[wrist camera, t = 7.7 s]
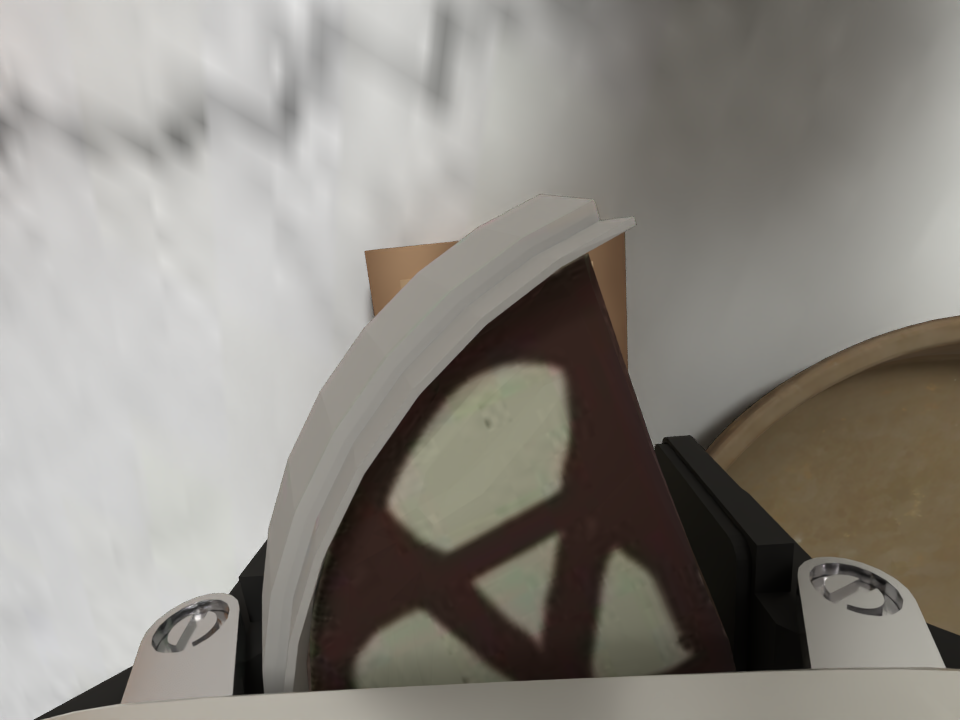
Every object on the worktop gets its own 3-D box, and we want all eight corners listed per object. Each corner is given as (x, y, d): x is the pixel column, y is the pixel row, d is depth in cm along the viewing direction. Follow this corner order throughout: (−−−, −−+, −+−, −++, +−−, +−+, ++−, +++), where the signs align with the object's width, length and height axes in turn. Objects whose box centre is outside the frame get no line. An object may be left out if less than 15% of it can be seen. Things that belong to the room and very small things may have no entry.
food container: (243, 322, 13) (-118, 460, 3) (447, 237, 14) (616, 158, 4) (423, 655, 16) (499, 1221, 6) (583, 570, 17) (860, 962, 7)
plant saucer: (689, 267, 25) (730, 274, 21) (1279, 337, 25) (1447, 359, 20) (588, 719, 33) (602, 793, 29) (1034, 774, 33) (1117, 859, 28)
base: (609, 225, 24) (625, 224, 21) (616, 441, 27) (630, 466, 24) (380, 249, 25) (363, 251, 22) (410, 456, 28) (400, 483, 25)
